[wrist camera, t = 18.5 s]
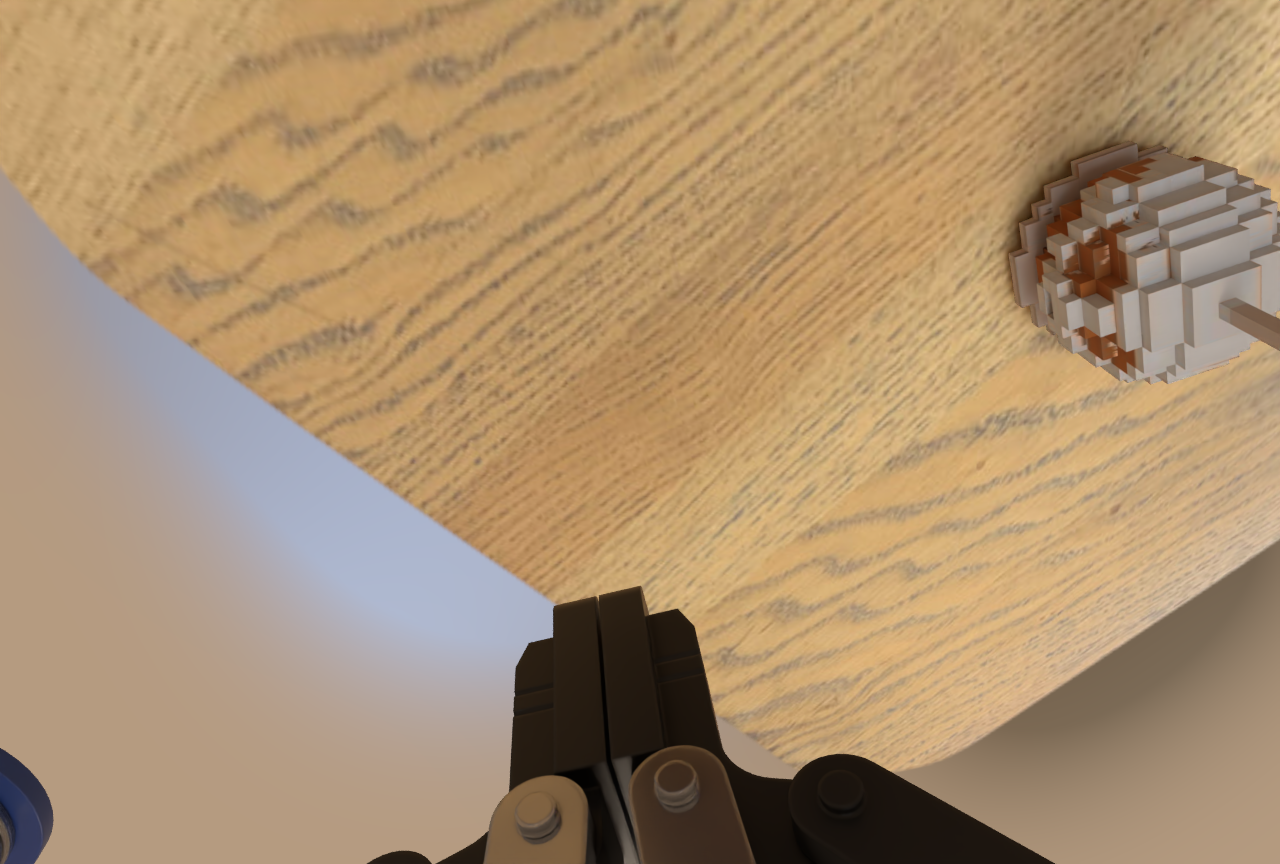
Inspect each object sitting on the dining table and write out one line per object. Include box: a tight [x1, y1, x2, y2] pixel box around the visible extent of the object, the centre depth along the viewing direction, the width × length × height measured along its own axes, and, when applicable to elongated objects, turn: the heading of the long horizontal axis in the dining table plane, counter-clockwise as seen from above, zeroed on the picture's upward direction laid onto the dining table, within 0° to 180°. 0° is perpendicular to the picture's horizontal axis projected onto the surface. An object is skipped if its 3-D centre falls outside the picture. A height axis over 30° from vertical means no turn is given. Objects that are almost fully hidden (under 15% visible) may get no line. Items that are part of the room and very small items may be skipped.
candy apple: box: [1009, 141, 1280, 384], centre depth 29 cm, size 8×8×15 cm
